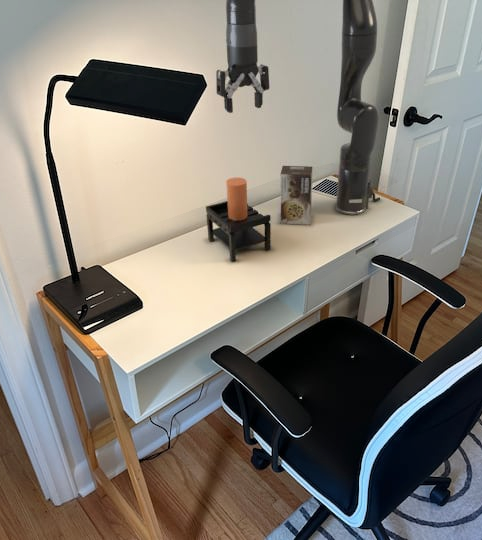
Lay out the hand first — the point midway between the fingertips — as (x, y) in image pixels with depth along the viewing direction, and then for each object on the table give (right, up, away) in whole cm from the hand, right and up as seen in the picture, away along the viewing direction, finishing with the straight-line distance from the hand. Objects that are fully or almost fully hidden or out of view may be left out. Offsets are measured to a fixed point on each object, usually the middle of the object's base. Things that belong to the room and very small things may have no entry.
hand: (244, 109), depth 134 cm
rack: (-2, -35, +9) cm, 36 cm away
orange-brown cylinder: (-2, -27, +4) cm, 28 cm away
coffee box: (+14, -27, +22) cm, 37 cm away
